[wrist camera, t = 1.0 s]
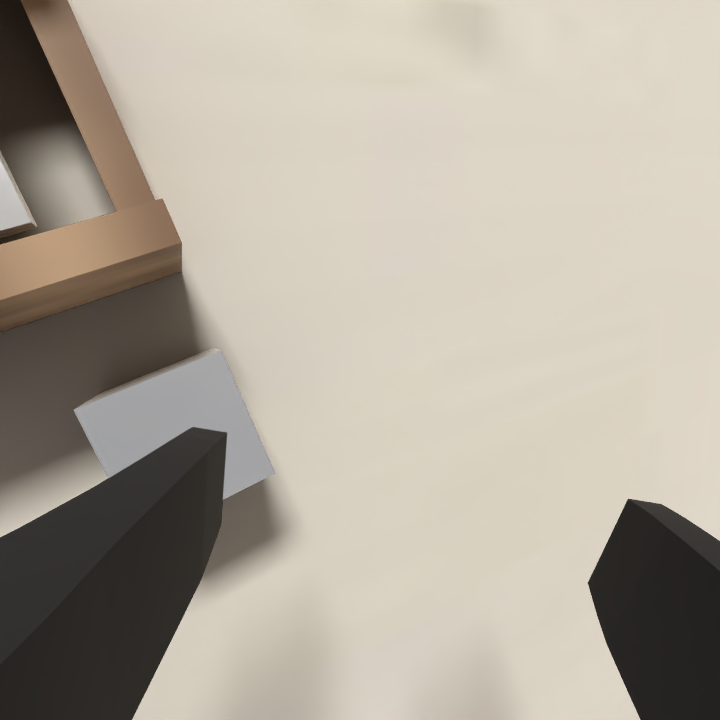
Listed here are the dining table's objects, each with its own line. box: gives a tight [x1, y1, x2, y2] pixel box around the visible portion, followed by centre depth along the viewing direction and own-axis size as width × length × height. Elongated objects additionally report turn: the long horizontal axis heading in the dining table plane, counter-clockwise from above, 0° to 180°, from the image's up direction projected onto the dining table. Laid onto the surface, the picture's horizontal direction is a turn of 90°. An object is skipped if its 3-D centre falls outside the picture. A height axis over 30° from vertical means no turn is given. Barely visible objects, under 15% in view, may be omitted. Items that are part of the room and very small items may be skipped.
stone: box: [74, 348, 275, 500], centre depth 16 cm, size 4×4×4 cm
